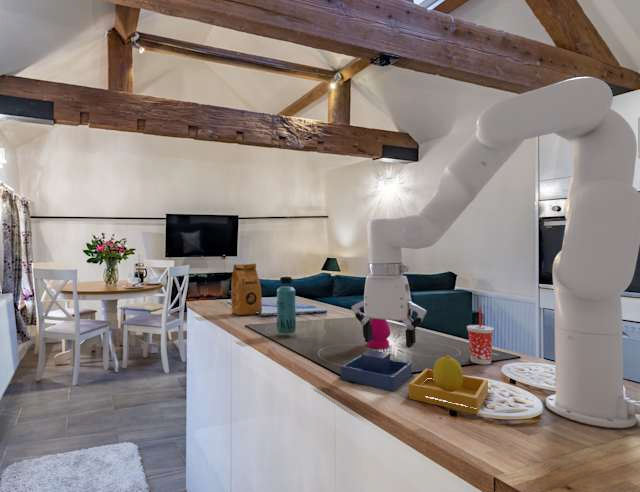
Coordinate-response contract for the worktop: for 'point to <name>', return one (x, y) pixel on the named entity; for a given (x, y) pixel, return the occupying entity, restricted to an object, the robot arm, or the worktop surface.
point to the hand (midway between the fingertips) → (388, 343)
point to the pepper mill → (379, 334)
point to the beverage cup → (480, 342)
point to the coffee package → (245, 290)
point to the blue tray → (376, 374)
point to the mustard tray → (465, 395)
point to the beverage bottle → (286, 307)
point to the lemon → (448, 374)
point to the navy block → (376, 362)
